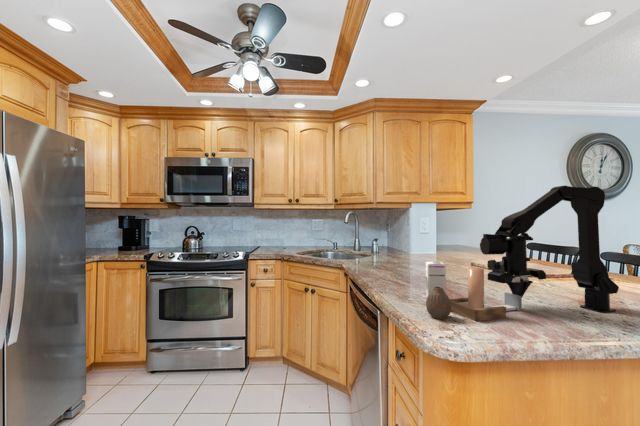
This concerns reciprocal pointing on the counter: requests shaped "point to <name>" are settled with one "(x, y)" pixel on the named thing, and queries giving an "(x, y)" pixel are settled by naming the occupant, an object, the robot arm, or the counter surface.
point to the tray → (507, 302)
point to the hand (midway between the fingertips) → (517, 301)
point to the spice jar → (476, 288)
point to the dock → (477, 311)
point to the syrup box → (435, 276)
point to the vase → (438, 303)
